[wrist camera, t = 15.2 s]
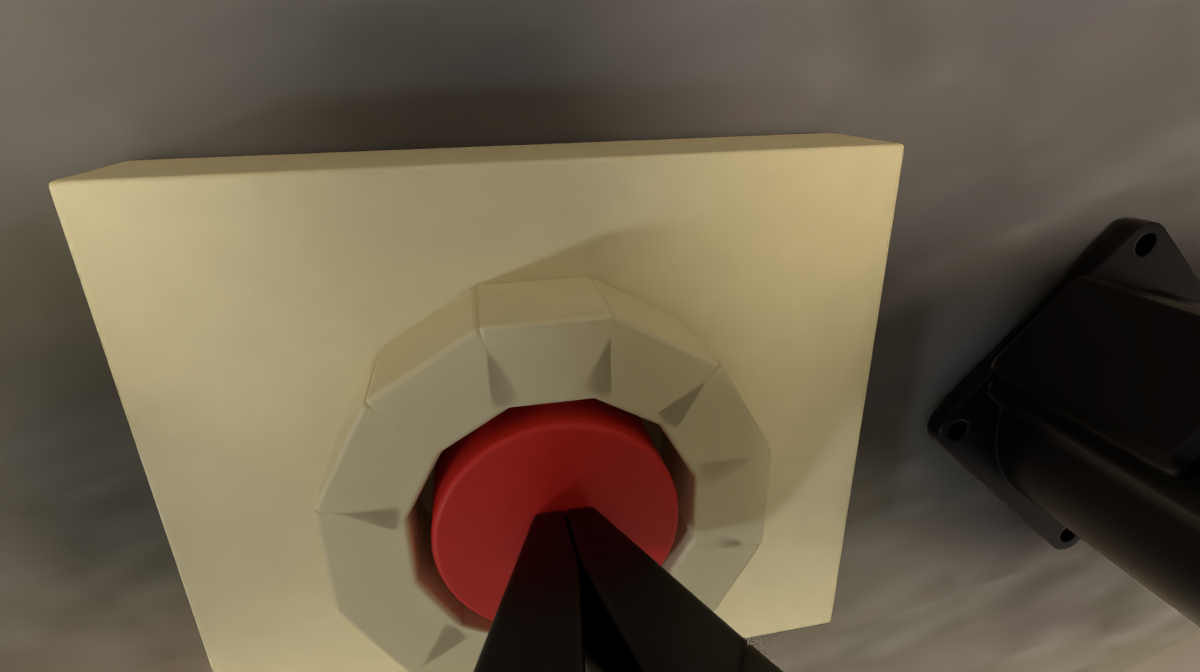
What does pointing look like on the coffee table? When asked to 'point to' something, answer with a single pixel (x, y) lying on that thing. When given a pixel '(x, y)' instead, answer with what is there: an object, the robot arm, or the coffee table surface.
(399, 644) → the button block
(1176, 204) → the coffee table surface
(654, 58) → the coffee table surface
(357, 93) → the coffee table surface
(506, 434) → the button
